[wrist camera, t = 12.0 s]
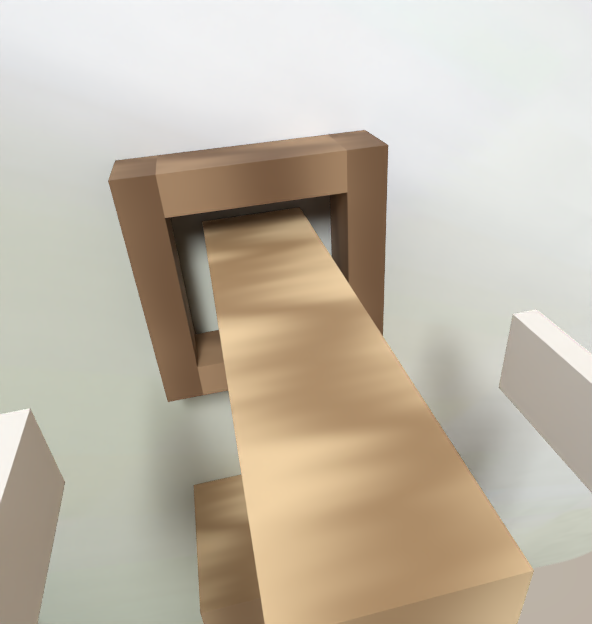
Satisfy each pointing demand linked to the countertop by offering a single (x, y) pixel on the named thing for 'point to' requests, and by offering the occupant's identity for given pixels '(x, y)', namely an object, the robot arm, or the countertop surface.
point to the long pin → (345, 450)
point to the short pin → (226, 554)
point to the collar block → (234, 194)
